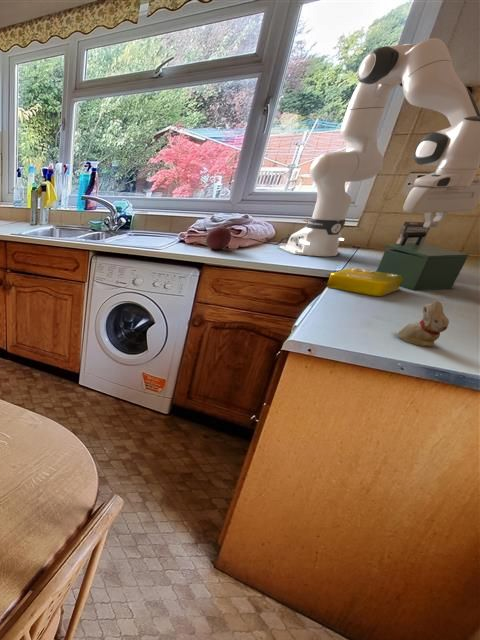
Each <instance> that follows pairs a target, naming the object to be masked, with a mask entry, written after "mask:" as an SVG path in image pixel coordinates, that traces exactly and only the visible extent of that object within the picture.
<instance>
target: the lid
mask: <svg viewBox="0 0 480 640" xmlns="http://www.w3.org/2000/svg"><path fill="white" fill-rule="evenodd" d="M425 236H426V232H405V233H404V234H403V237H404V239H403V241H402V243H401V244H396V243H385V244H384V246H383V247H385V248H387V249H395V250H399V251H403V252H406V253H410V254H414V255H417V256H421V257H425V258H452V257H467V258H469V256H470V254H469V253H465V252H461V251H458V250H453V249H450V248H444V247H441V246H436V245H432V244H428V243H424V242H423V243H420V242H421V240H422V238H423V237H425ZM417 237H419V238H418V240H417V242H416V243H406V241H407V239H408V238H417ZM426 237H427V236H426Z"/></svg>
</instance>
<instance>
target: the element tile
mask: <svg viewBox="0 0 480 640" xmlns="http://www.w3.org/2000/svg"><path fill="white" fill-rule="evenodd" d="M402 280H403V276H402V275H396V274H390V273H383V272H377V270H376V271H375V270H371V269H365V268H362V267H347V268H344V269H340V270H337V271H335V272H331V273H330V275H329V278H328V281H327V283H326V287H328V288H331V289H335V290H341V291H347V292H351V293H355V294H362V295H366V296H371V297H372V296H373V297H383V296H385V295H388V294H390V293H391V294H392V293H393V292H396V291H398V290H399V289H400V287H401V286H400V284H401V282H402Z"/></svg>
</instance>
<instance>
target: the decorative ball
mask: <svg viewBox="0 0 480 640" xmlns="http://www.w3.org/2000/svg"><path fill="white" fill-rule="evenodd" d="M231 239H232V233H231V231H230V229H229V228H227V227H225V226H216V227H213V228H211V230H209V231H208V233H207V235H206V237H205V244H206V245H207V247H209V249H211V250H215V251H216V250H217V251H218V250H221V249H224V248H226V247H227V246H228V245H229V244H230V242H231Z"/></svg>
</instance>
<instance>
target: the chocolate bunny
mask: <svg viewBox="0 0 480 640" xmlns="http://www.w3.org/2000/svg"><path fill="white" fill-rule="evenodd" d="M422 313H423V315H422V316H423V317H422V318H421V320H420V321H416V322H412V323H407V324H406V325H405V326H404V327H403V328H402V329H400V331H399V332H398V333H397V334H398V335H397V337H398V338H399V339H401V340H402V341H404V342H407V343H410V344H413V345H415V346H421V347H427V348H429V347H430V348H432V347H433V346H434V345H435V341H437V340H438V339H439V338H440V335H441V333H442V332H445V331H446V330H447V329H448V327H449V323H450V319H449V318H448V317H447V315H445V313H444V305H442V302H441V301H439V300H436V301H434V302H432V303H429V304H428V303H427V304H424V306H423V308H422Z"/></svg>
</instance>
